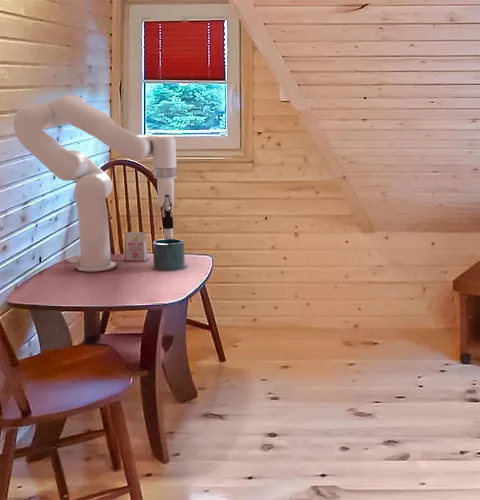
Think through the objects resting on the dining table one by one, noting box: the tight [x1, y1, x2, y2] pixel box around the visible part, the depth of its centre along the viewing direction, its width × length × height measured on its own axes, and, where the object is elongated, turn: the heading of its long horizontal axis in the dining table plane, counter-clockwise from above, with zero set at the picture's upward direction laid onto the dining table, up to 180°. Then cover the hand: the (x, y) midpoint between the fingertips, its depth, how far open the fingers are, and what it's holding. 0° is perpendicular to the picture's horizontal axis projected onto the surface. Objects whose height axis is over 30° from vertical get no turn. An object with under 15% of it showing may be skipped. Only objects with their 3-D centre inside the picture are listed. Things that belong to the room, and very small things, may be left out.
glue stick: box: [161, 210, 175, 239], centre depth 258 cm, size 3×3×9 cm
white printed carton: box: [124, 231, 148, 262], centre depth 271 cm, size 4×7×10 cm, turn 90°
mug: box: [152, 238, 186, 272], centre depth 262 cm, size 14×10×9 cm
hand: (168, 227), depth 258 cm, fingers closed on glue stick, 3 cm apart
